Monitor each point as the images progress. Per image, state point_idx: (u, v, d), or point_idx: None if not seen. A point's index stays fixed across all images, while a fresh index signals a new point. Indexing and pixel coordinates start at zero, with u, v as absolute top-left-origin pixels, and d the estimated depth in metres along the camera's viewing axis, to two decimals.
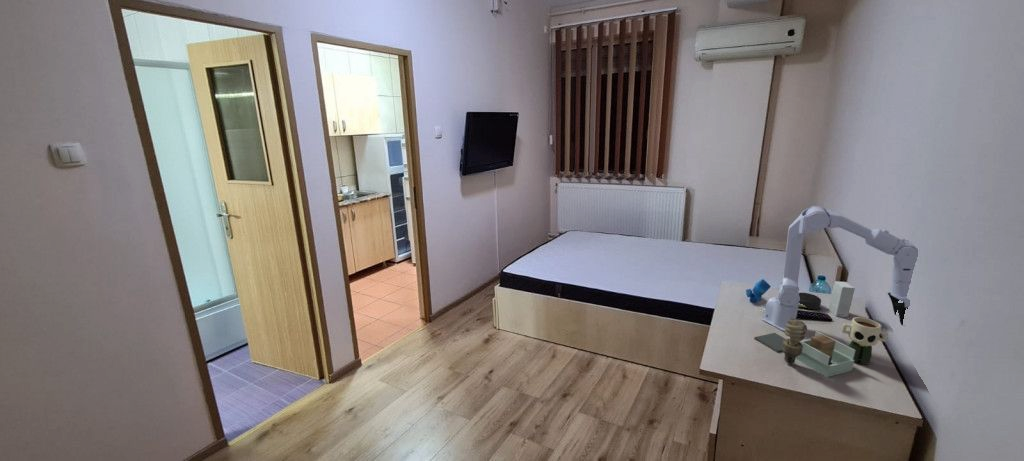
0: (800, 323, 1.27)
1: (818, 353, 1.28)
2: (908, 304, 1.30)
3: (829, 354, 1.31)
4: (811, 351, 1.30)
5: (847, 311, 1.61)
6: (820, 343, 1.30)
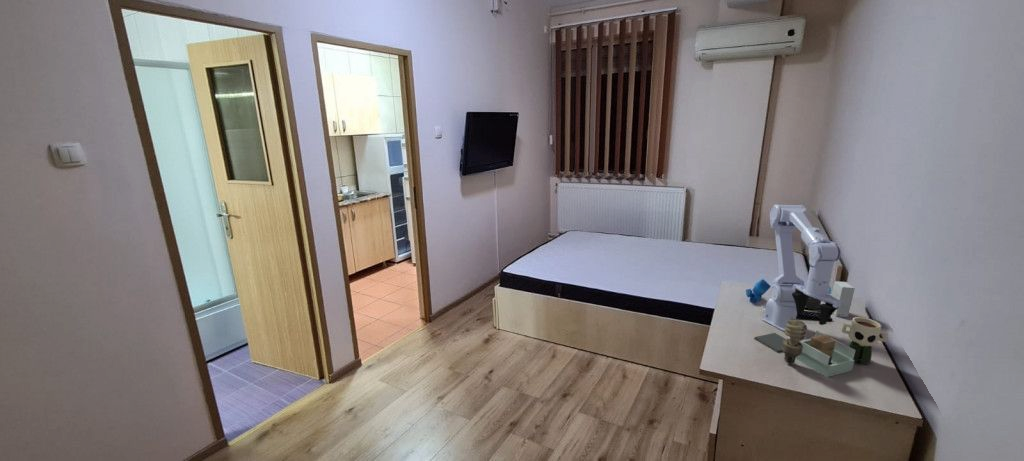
0: (800, 323, 1.27)
1: (818, 353, 1.28)
2: (838, 304, 1.30)
3: (829, 354, 1.31)
4: (811, 351, 1.30)
5: (847, 311, 1.61)
6: (820, 343, 1.30)
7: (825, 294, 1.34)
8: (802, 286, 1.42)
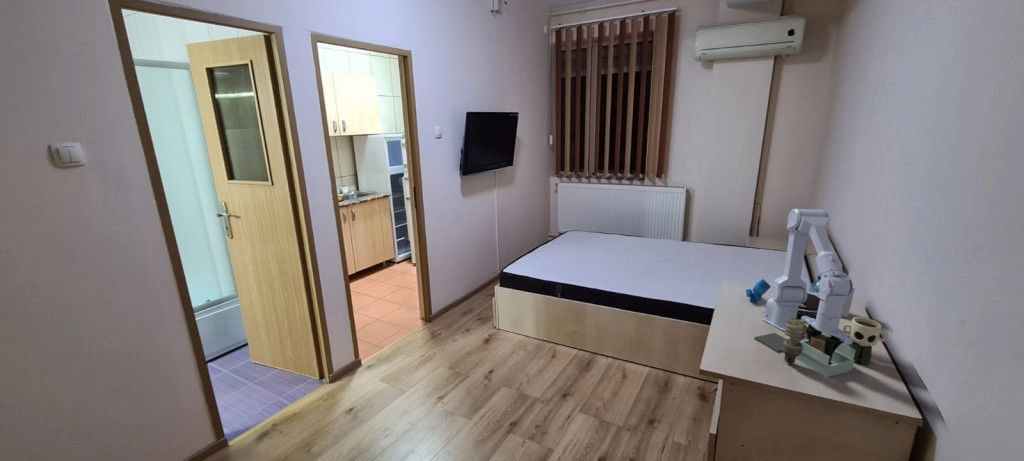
0: (800, 323, 1.27)
1: (818, 353, 1.28)
2: (849, 341, 1.24)
3: None
4: (811, 351, 1.30)
5: (847, 311, 1.61)
6: (820, 343, 1.30)
7: (836, 329, 1.28)
8: (811, 318, 1.36)
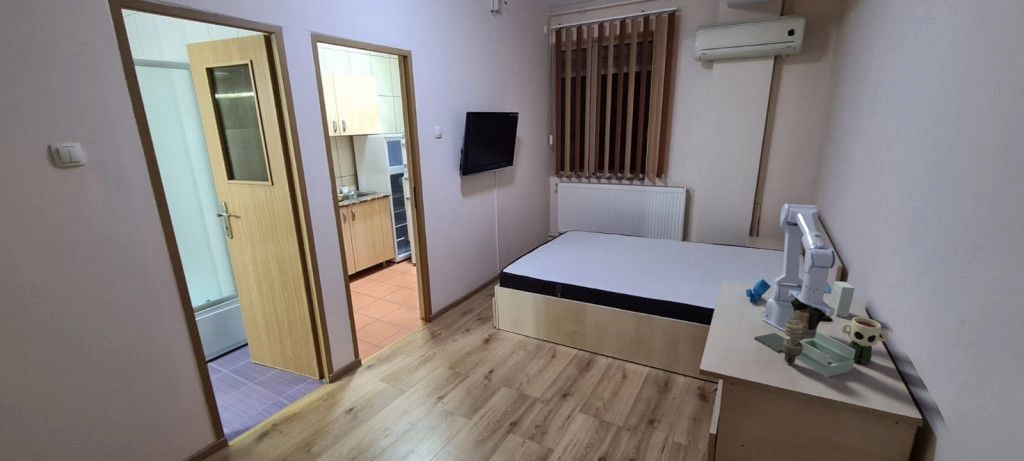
0: (800, 323, 1.27)
1: (818, 353, 1.28)
2: (831, 312, 1.26)
3: None
4: (811, 351, 1.30)
5: (847, 311, 1.61)
6: (803, 316, 1.33)
7: (819, 301, 1.30)
8: (798, 292, 1.38)
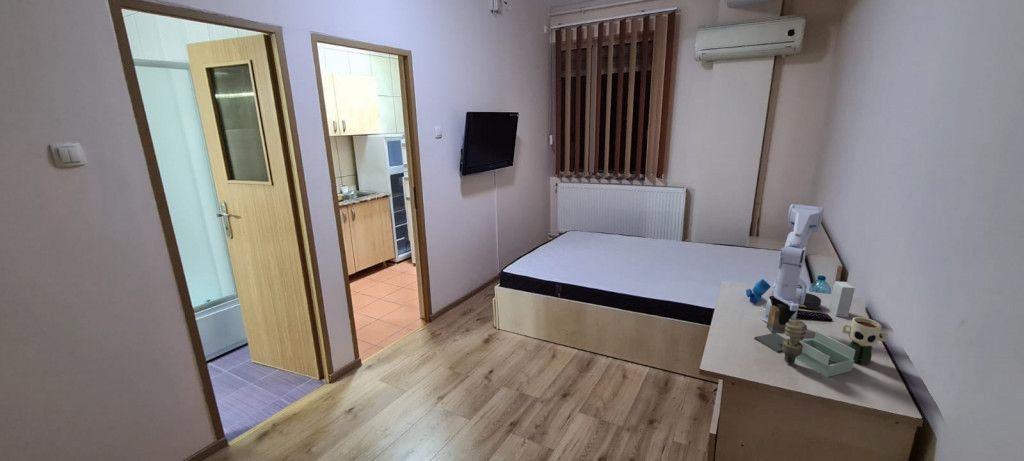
0: (800, 323, 1.27)
1: (818, 353, 1.28)
2: (794, 308, 1.33)
3: None
4: (811, 351, 1.30)
5: (847, 311, 1.61)
6: (774, 311, 1.40)
7: (789, 297, 1.37)
8: None
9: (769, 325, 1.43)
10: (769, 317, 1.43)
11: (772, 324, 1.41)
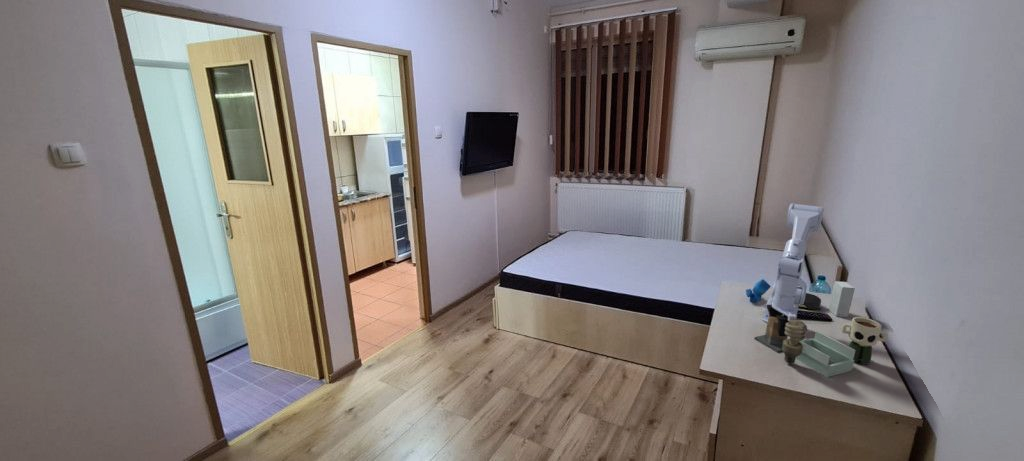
0: (800, 323, 1.27)
1: (818, 353, 1.28)
2: None
3: None
4: (811, 351, 1.30)
5: (847, 311, 1.61)
6: (772, 322, 1.41)
7: (787, 308, 1.38)
8: None
9: (767, 336, 1.44)
10: (767, 328, 1.44)
11: (770, 335, 1.42)
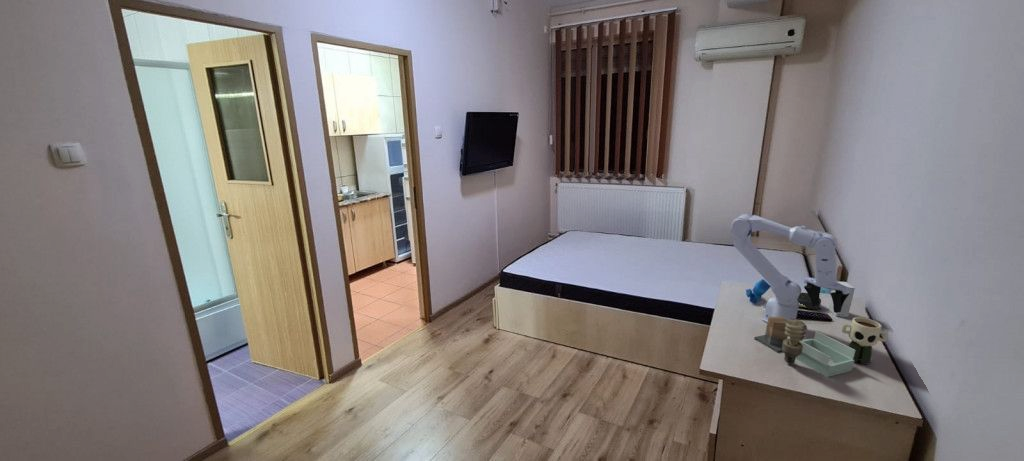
0: (800, 323, 1.27)
1: (818, 353, 1.28)
2: (847, 291, 1.38)
3: (783, 335, 1.41)
4: (811, 351, 1.30)
5: (847, 311, 1.61)
6: (772, 322, 1.41)
7: (834, 283, 1.42)
8: (813, 278, 1.50)
9: (767, 336, 1.44)
10: (767, 328, 1.44)
11: (770, 335, 1.42)
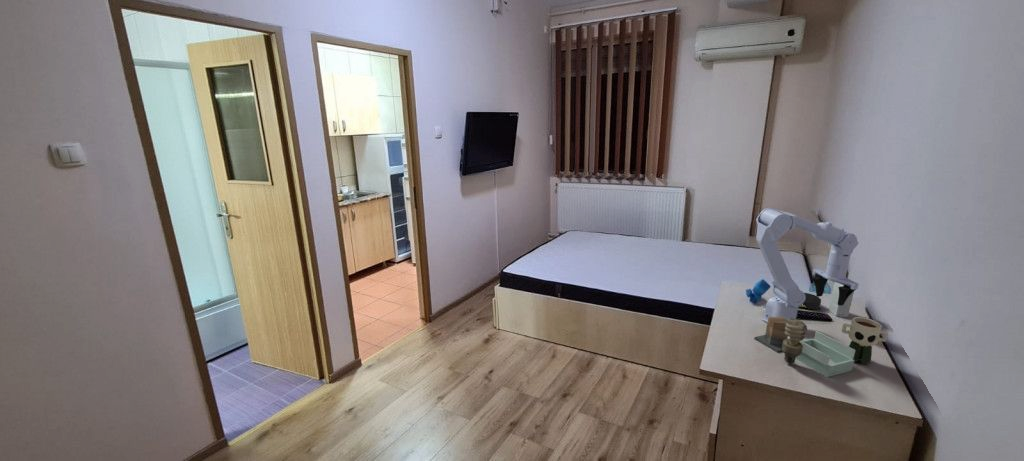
0: (800, 323, 1.27)
1: (818, 353, 1.28)
2: (855, 286, 1.44)
3: (783, 335, 1.41)
4: (811, 351, 1.30)
5: (847, 311, 1.61)
6: (772, 322, 1.41)
7: (843, 277, 1.48)
8: None
9: (767, 336, 1.44)
10: (767, 328, 1.44)
11: (770, 335, 1.42)
